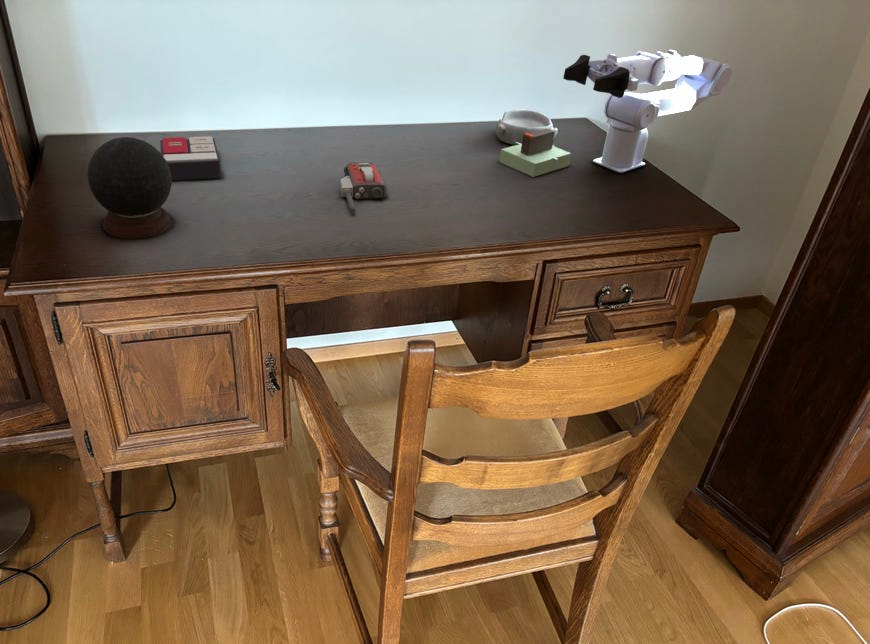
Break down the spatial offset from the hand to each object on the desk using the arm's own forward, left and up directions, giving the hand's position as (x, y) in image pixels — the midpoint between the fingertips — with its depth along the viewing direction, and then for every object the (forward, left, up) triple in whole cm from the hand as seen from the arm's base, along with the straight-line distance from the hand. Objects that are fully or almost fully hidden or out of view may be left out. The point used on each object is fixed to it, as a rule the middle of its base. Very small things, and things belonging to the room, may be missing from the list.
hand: (580, 79), depth 146 cm
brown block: (-3, -10, -18) cm, 21 cm away
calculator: (+61, -48, -21) cm, 80 cm away
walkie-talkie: (+40, -18, -21) cm, 48 cm away
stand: (-3, -10, -21) cm, 24 cm away
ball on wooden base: (+81, -29, -21) cm, 88 cm away
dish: (-13, -23, -21) cm, 34 cm away
